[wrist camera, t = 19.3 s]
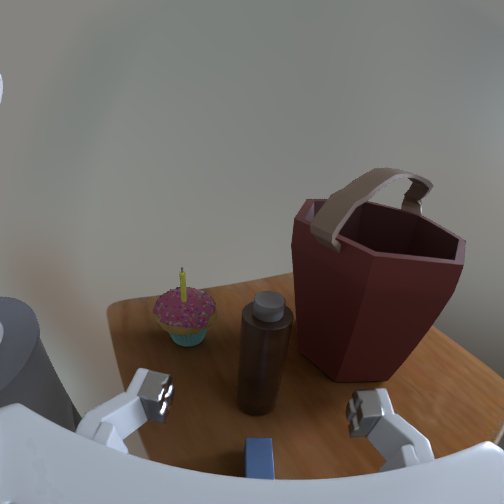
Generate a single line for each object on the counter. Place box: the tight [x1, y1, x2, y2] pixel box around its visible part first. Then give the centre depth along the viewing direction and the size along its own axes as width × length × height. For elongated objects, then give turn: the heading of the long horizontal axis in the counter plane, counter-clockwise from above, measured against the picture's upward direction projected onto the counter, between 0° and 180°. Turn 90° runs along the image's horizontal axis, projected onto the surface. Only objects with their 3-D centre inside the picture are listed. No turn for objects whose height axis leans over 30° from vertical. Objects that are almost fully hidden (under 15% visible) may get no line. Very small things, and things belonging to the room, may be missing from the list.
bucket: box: [291, 168, 466, 382], centre depth 33 cm, size 24×22×25 cm
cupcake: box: [153, 268, 217, 347], centre depth 36 cm, size 9×8×12 cm
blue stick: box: [244, 438, 275, 480], centre depth 17 cm, size 10×2×2 cm, turn 1°
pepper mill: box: [237, 291, 294, 416], centre depth 26 cm, size 4×4×14 cm
